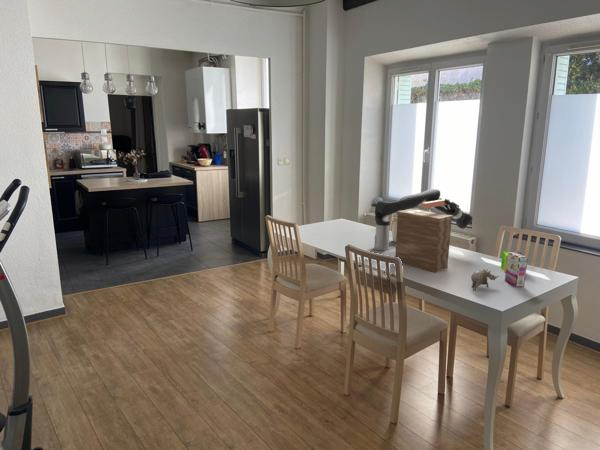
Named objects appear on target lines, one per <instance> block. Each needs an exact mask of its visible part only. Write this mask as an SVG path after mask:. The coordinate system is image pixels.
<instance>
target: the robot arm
mask: <svg viewBox="0 0 600 450" xmlns="http://www.w3.org/2000/svg"><path fill="white" fill-rule="evenodd" d="M442 199H443V198H441V191H440V189H437V188H430V189H427V190H424V191H421V192H417V193H415V194H409V195H406V196H402V197H401V198H400V199H399V200H397V201H391V202H390V201H389V202H388V201H386V200H379V201H377V203H376V204H375V207H374V220H375V234H374V249H373V250H378V251H388V250H389V242H390V224H391V222H390V220H389V218H388V217H387V216H390V215H393V214H395V213H397V211H402V210H408V209H415V208H416V207H418V206H419V205H421V203H423V202H429V201H435V200H442ZM444 199H445V201H444V202H445V203H446V204H447V205H442V206H437V207H433V208H434V209H437V210H438V211H440V212H441V213H443V214H446V215H452V216H453V219H452V220H454V221H455V224H456V226H457V227H458V229H459V228H460V229H463V230H464V229H466V228H467V227H468V225H470V224H471V223H472V221H473V216H472V215H471V214H469V213H467V212H464V211H462V209H461V207H460V205H458V204H457V203H455V202H454V201H448V200H447V199H448V198H444Z"/></svg>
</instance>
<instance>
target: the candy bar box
mask: <svg viewBox="0 0 600 450" xmlns="http://www.w3.org/2000/svg"><path fill="white" fill-rule="evenodd" d="M507 252H508V259H507V267H506V272H505V277H504V282H507V283H508V284H510V285H512V286H514V287H515V288H524V287H525V283H526V282H525V281H526V274H527V273H526V272H527V266H528V258H529V257H527V256H526V255H524V254H523V255H524V256H523V255H521V254H522V253H521V254H519V253H520V252H519V253H517V252H518V251H517V252H516V251H507Z"/></svg>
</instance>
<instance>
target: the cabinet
mask: <svg viewBox="0 0 600 450" xmlns="http://www.w3.org/2000/svg"><path fill="white" fill-rule="evenodd" d="M396 215H397V235H396V243H395V255H394V258H395V257H399V258H400V259H401V261H402V263H403V264H402V265H405V266H409V267H411V268H412V267H413V268H417V269H420V270H423V271H428V272H432V273H437V272H441V271H443V270H446V269H448V265H449V256H450V255H449V253H450V242H451V233H452V232H451V231H452V230H451V229H452V220H454V219H453V216H452V215H447V214H445V213H440V212H433V211H426V210H422V209H415V208H411V209H407V210H402V211H397V212H396Z"/></svg>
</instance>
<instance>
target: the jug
mask: <svg viewBox="0 0 600 450" xmlns="http://www.w3.org/2000/svg"><path fill="white" fill-rule="evenodd" d="M397 219H398V216H397V217H393V218H392V221H393V223H392V225H391V229H390V230H391V237H392V242H393V243H395V244H396V235H397Z"/></svg>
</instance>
